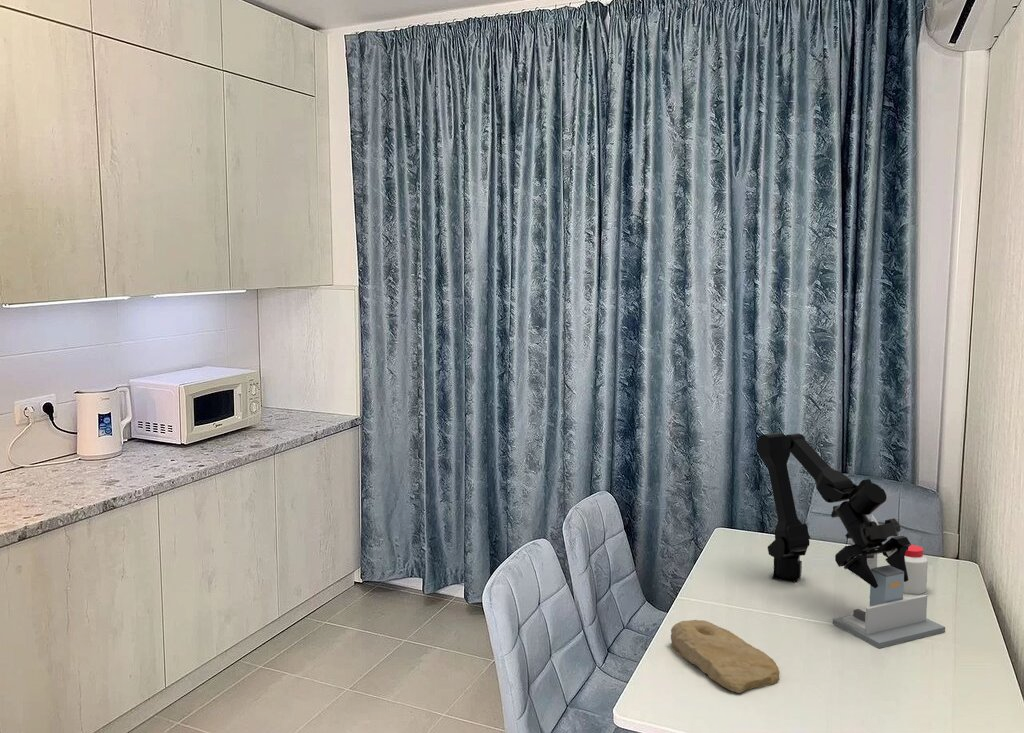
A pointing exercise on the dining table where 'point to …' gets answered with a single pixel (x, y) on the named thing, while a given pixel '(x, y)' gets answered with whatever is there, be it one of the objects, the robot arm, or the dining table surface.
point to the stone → (723, 655)
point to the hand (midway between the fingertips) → (891, 584)
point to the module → (887, 585)
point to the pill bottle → (915, 570)
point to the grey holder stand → (891, 622)
